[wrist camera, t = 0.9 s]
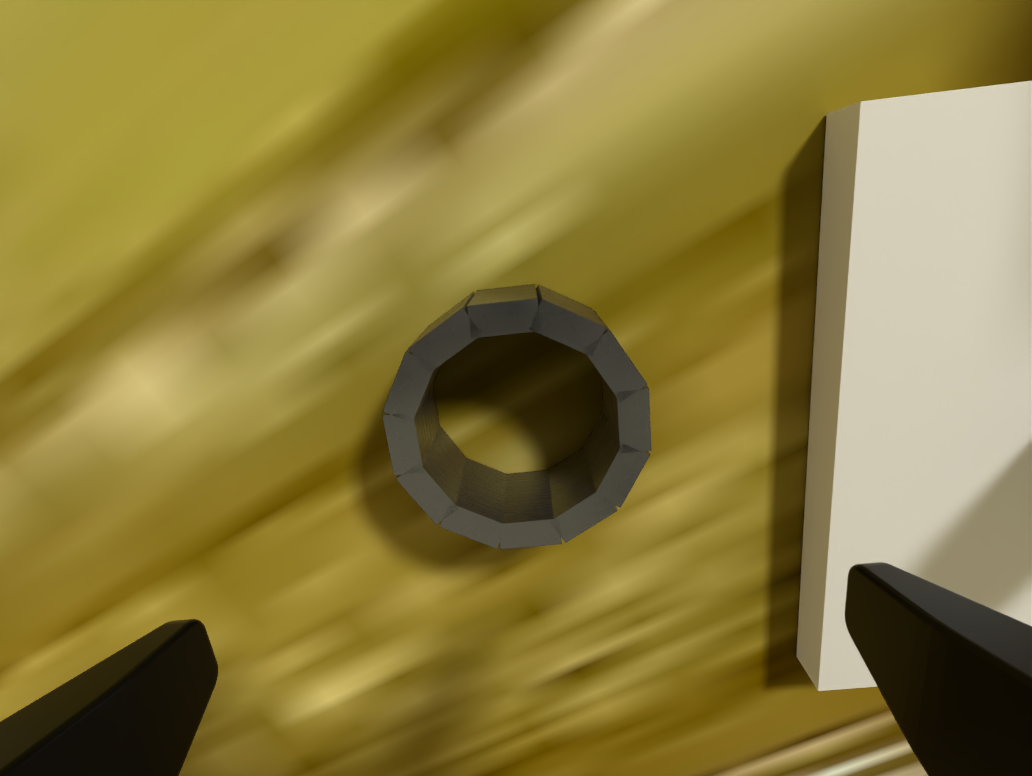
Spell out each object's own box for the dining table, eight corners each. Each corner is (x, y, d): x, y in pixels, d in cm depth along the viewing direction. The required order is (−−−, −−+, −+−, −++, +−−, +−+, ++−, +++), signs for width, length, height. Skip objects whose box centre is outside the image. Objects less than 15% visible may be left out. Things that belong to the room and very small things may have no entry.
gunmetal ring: (632, 484, 17) (654, 535, 15) (428, 503, 18) (410, 557, 15) (622, 274, 15) (645, 286, 13) (391, 299, 16) (362, 317, 13)
